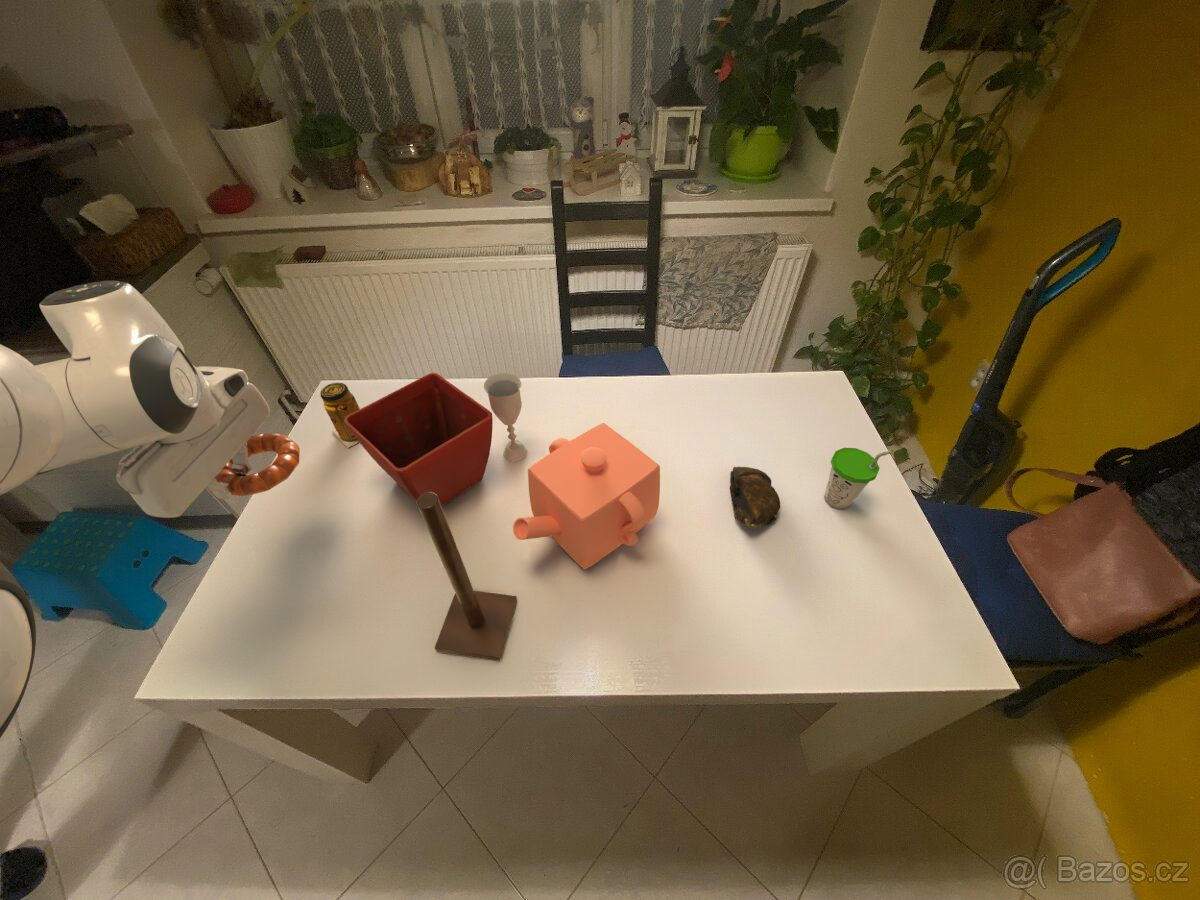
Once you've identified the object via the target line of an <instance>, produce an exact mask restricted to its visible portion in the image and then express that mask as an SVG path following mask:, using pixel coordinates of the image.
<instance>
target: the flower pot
mask: <svg viewBox="0 0 1200 900" xmlns="http://www.w3.org/2000/svg"><path fill="white" fill-rule="evenodd" d="M344 421H345V423H346V425H347V426H348V427H349V429H350V430H351V432H352V433H353V435H354V436H355V437H356V439H357V440H358V441H359V444H360V445H361V447H362V448H363V449H364V450H365V452H366V453H367V454H368V455H369V456H370V457H371V458H372V459H373V461H375V462H376V464H377V465H378V466H379V467H380V468H381V469H382V470H383V471H384V472H385V473H386V474H387V475H388V476H389V477H390V478H391V479H392V480H393V481H394V482H396V483H397V484H398V485H399V486H400V487H401V488H402V489H403V490H404V491H405V492H406V493H407V495H409V496H410V497H411V498H412V499H413V500H414V501H415V502H417V499H418V497H419V496H420V495H422V494H424V493H427V492H433V493H435V494H436V495H437V496H438V498H439V501H440V504H441V506H442V507H444V506H445V505H446V504H448V503H449V502H451V501H452V500H454V499H456V498H457V497H458V496H460V495H461V494H463V493H464V492H466V491H467V490H469V489H470V488H472V487H473V486H475V485H477V484H478V483H480V482H481V481H482V480H483V478H484V475H485V473H486V469H487V466H488V462H489V458H490V453H491V446H492V439H493V421H494V420H493V413H492V412H491V411H490V409H488V408H487V407H485V406H483V405H482V404H481V403H479V402H478V401H476V400H475V399H474V398H472V397H471V396H469V395H467V394H466V393H465V392H464V391H463V390H462V389H460V388H458V387H457V386H455V385H454V384H453V383H451V382H450V381H448V380H447V379H445V378H444V377H443V376H442V375H440V374H439V373H438V372H430V373H428V374H426V375H424V376H422V377H420V378H418V379H416V380H414V381H412V382H410V383H408V384H406V385H404V386H402V387H400V388H399V389H397V390H395V391H393V392H391V393H389V394H387V395H385V396H383V397H381V398H379V399H377V400H375V401H373V402H371V403H370V404H367V405H366V406H363V407H362V408H360V409H359V410H357V411H355V412H354V413H352V414H350V415H348V416H346V417H345V419H344Z"/></svg>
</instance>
